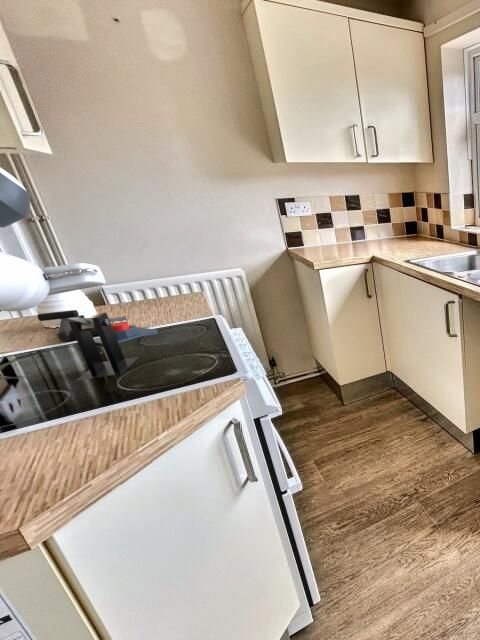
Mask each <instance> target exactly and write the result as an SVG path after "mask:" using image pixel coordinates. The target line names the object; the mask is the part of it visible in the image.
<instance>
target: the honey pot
mask: <svg viewBox="0 0 480 640" xmlns="http://www.w3.org/2000/svg"><path fill="white" fill-rule="evenodd" d="M49 267H50V266H47V267H46V268H49ZM36 307H37V309H36V313H37V315H38V314H43V313H52V312H61V311H70V310H77V311H78V314H79V315H84V317H85V318H90V317H92V316H94V315H96V314H97V315H98V313H97V309H96V308H95V306H94V303H93V301H91V300H90V299H89V297H88V296H86V295H85V292H83V291H82V290H81V289H80V290H75V291H70V292H64V293H59V294H54V295H48V296H47V297H46V298H45V299H44V300H43V301H42V302H41V303H40V304H38V305H37V306H36ZM40 322H41V324H42V326H43V325H44V326H58V325H60V323H61V319H56V320H47V321H40ZM44 326H43V327H44Z"/></svg>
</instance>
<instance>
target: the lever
mask: <svg viewBox="0 0 480 640" xmlns="http://www.w3.org/2000/svg"><path fill="white" fill-rule="evenodd" d="M78 316H79V314H78V311H77V310H70V311H61V312H52V313H43V314H38V313H37V320H38V321H39V322H41V321H47V320H56V319H61V320H65V321H68V322H72V323H76V324H80V325H81V328H82V329H83V330H87V331H93V330H97V329H96V327H95V324H94V322H93V319H92V318H93V317H90V318H79V317H78Z"/></svg>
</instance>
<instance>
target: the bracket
mask: <svg viewBox="0 0 480 640" xmlns="http://www.w3.org/2000/svg"><path fill="white" fill-rule="evenodd" d="M78 317H79V318H85V317H84V315H79V316H78ZM109 318H110V317H109V315H108V313H107V312H100V313H97V316H95V317H93V318H92V319H93V322H94V324H95V327H96V329H97V332H98V334H99V335H98V337H99V338H100V339H101V341H102V344H103V345H102V346H103V349H104V351H105V354H106V356H107V358H108V360H106V361H104V360H103V358H102V356H101V353H100V351H99V348H98V346H97V344H96V343H95V341H94V339H95V338H94V336H92V334H91V331H87V330H83V329H82V328H81V325H80V324H76V323H72V322H69V324H70V326H71V328H72V331H73V333H74V335H75V338H76V339H75V340H76V342H77V344H78V347H79V349H80V352H81V354H82V356H83V358H84V360H85V363H86V366H87V368H88V370H87V371H86V372H85V373H83V374H82V375H81V376H80V377H78V378H77V379H75V382H79V381H85V380H92V379H98V378H99V379H100V378H104V377H110V376H119V375H122V374H123V373H124V372H125V371H126V370H127V369H128V368H129V367H130V366H131V365H133V363H135V361H136V360H137V359H138V358H139V356H133V357H127V358H125V356H124V354H123V351H122V349H121V346H120V343H118V341H117V338H116V336H115V333H114V331H113V328H112V326H111V325H112V324H111V323H110V321H109Z"/></svg>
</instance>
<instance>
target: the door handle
mask: <svg viewBox="0 0 480 640" xmlns="http://www.w3.org/2000/svg"><path fill="white" fill-rule="evenodd" d="M108 318H109V321H110V322H115V321H123V320H127V321H128V319H127V316H126V315H124V316H117V317H108ZM91 334H92V336H93V337H95V336H94V335H98V336H99V334H98V332H97V330H93V331H91ZM54 336H57V340H59V341H61V342H70V341H72V340H76V338H75V335H74V333H73V331H72V328H71V326H70V324H69V322H68V321H65V320H61V323H60V327H59V328H58V332H57V333H56V334H54ZM52 339H55V337H54V338H52Z"/></svg>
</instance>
